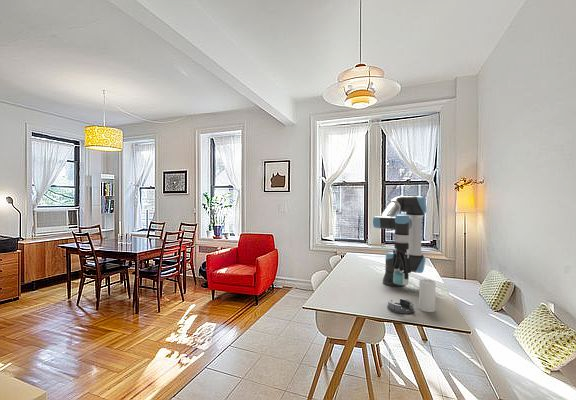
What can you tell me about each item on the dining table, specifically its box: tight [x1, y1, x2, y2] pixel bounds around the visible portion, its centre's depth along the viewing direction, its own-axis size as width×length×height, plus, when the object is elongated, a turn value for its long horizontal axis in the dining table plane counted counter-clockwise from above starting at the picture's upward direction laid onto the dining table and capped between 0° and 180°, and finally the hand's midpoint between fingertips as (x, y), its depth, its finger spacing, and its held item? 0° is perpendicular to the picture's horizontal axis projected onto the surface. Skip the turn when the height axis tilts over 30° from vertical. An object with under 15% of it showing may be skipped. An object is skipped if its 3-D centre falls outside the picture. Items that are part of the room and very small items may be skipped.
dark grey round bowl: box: [387, 297, 415, 315], centre depth 162 cm, size 14×14×4 cm
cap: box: [393, 271, 410, 285], centre depth 162 cm, size 8×8×6 cm
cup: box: [418, 278, 437, 313], centre depth 162 cm, size 8×8×16 cm
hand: (400, 282), depth 162 cm, fingers closed on cap, 8 cm apart
